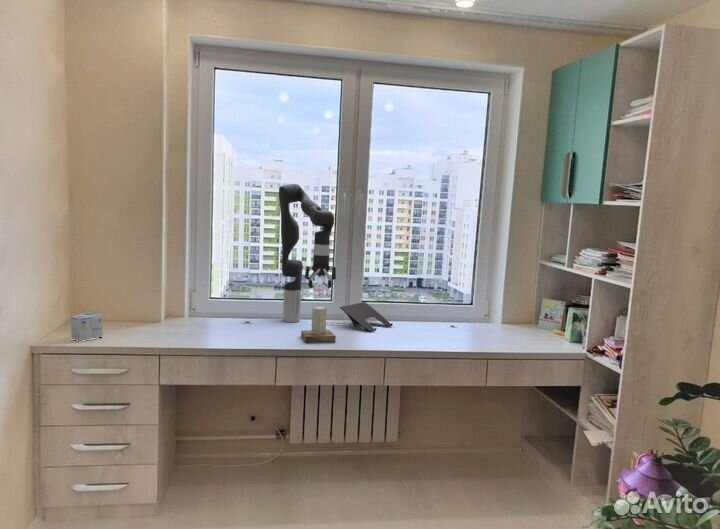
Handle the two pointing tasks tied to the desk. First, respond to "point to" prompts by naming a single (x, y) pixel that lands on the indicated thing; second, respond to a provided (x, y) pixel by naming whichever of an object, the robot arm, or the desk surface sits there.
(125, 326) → the desk surface
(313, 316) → the skincare box
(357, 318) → the portable electronic device stand
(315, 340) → the walnut stand
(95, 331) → the light bulb box
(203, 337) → the desk surface
